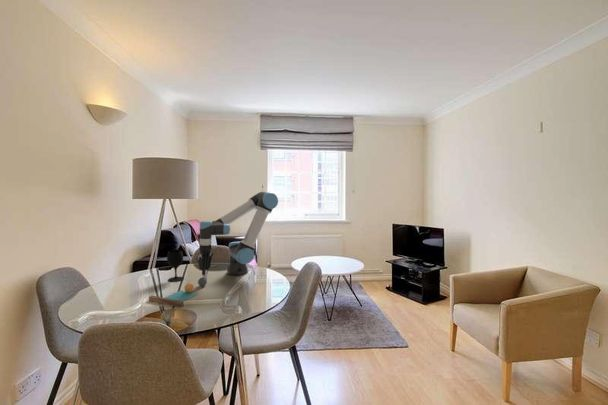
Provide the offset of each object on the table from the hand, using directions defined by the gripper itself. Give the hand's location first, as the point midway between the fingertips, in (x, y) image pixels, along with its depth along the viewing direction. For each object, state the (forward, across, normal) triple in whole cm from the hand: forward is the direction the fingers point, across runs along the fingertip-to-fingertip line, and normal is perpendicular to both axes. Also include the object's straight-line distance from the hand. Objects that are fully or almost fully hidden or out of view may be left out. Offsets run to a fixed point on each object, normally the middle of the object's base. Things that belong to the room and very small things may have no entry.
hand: (204, 279), depth 207 cm
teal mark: (+4, +22, +2) cm, 23 cm away
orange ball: (+1, +16, +2) cm, 16 cm away
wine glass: (+4, +1, -25) cm, 25 cm away
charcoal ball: (0, +4, +1) cm, 4 cm away
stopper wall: (+4, +33, +3) cm, 34 cm away
